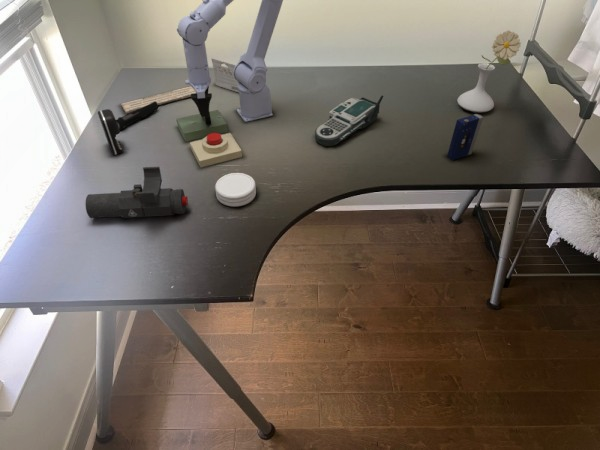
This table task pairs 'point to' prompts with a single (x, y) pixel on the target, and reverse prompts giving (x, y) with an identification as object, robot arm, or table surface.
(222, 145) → the box
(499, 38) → the flower in vase
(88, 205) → the laser sight
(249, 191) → the coaster
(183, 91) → the newspaper
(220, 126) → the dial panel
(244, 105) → the robot arm
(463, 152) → the cassette player
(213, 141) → the power button
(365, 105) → the communication device
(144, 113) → the electric trimmer
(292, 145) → the table surface
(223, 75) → the ink cartridge box
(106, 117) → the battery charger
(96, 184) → the table surface
